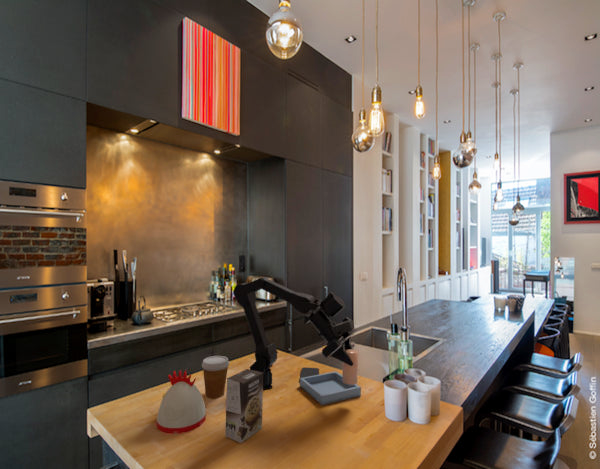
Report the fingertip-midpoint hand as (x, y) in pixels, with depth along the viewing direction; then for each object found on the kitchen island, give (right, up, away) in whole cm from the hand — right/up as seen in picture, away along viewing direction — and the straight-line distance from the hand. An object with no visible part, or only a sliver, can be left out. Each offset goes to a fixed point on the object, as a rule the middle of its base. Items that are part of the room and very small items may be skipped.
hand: (354, 362), depth 114 cm
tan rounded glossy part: (-1, -7, 0) cm, 7 cm away
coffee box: (-34, -13, -18) cm, 41 cm away
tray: (-8, -14, +9) cm, 18 cm away
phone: (-14, -14, +22) cm, 30 cm away
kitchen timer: (-54, -13, -12) cm, 57 cm away
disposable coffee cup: (-48, -13, +5) cm, 50 cm away
